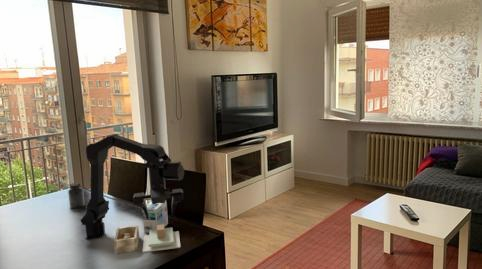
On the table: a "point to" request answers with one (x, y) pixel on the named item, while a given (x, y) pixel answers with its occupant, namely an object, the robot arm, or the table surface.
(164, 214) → the light bulb box
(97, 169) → the robot arm
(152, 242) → the lid
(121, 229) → the crate
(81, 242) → the table surface
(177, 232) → the felt mat
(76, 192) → the supplement bottle
